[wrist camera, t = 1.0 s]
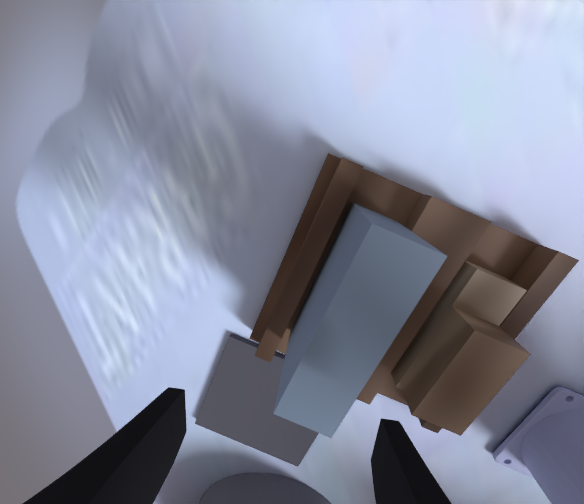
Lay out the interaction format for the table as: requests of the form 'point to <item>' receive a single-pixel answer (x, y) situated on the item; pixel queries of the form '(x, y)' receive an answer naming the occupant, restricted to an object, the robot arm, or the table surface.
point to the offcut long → (465, 307)
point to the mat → (252, 404)
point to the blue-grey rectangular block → (352, 316)
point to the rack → (424, 223)
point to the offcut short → (460, 370)
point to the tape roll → (261, 491)
